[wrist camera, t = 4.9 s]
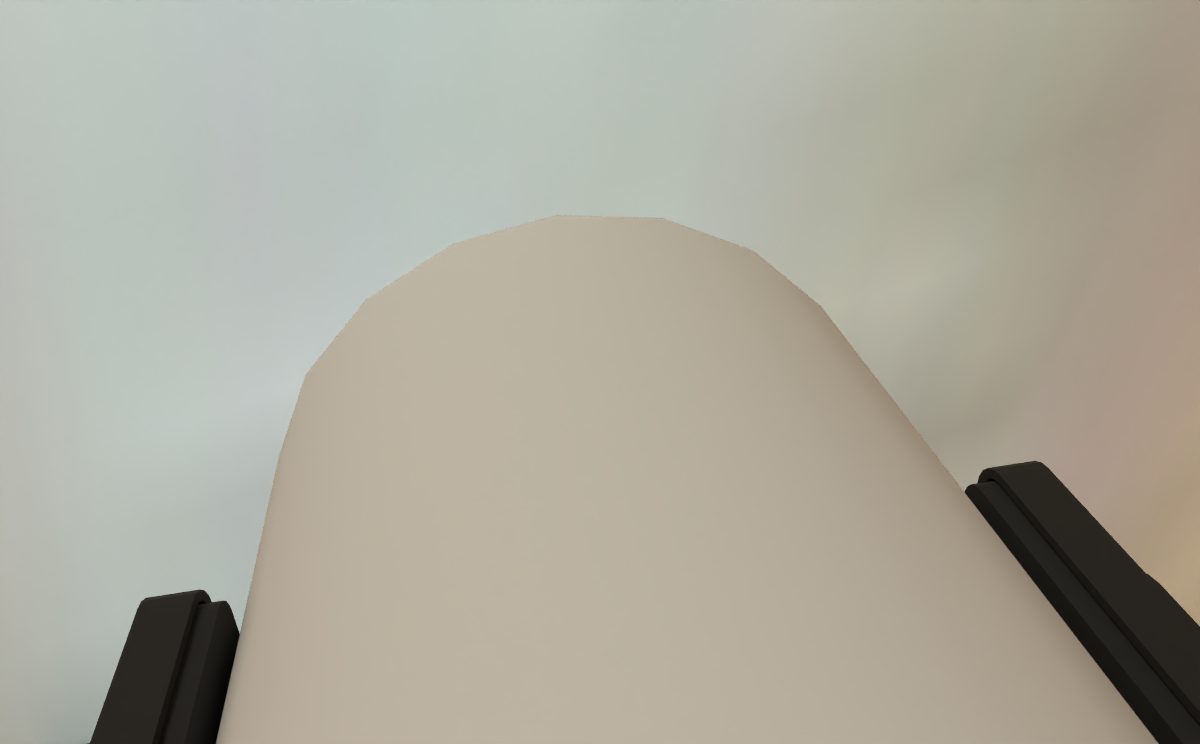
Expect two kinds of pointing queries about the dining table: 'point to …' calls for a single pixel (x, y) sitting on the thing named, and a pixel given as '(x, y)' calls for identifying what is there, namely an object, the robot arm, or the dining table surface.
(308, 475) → the can
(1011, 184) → the dining table surface
